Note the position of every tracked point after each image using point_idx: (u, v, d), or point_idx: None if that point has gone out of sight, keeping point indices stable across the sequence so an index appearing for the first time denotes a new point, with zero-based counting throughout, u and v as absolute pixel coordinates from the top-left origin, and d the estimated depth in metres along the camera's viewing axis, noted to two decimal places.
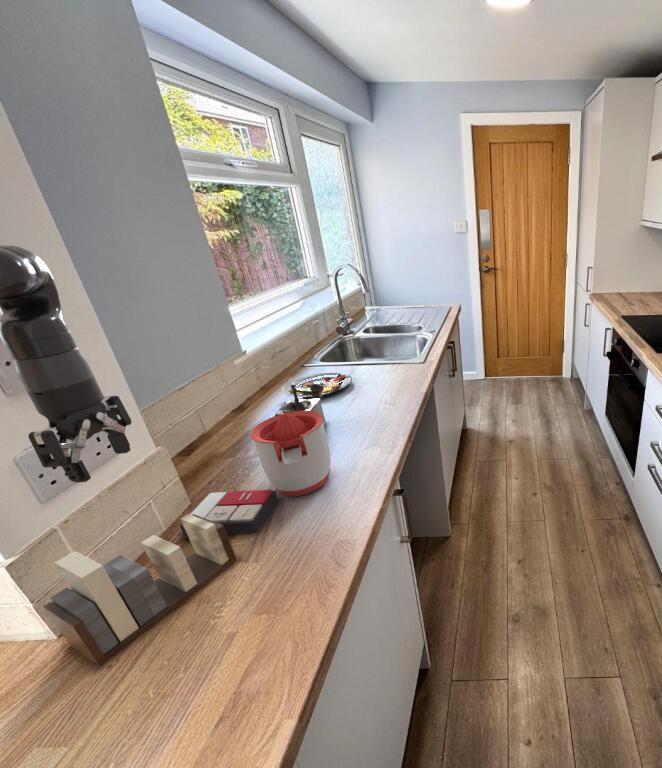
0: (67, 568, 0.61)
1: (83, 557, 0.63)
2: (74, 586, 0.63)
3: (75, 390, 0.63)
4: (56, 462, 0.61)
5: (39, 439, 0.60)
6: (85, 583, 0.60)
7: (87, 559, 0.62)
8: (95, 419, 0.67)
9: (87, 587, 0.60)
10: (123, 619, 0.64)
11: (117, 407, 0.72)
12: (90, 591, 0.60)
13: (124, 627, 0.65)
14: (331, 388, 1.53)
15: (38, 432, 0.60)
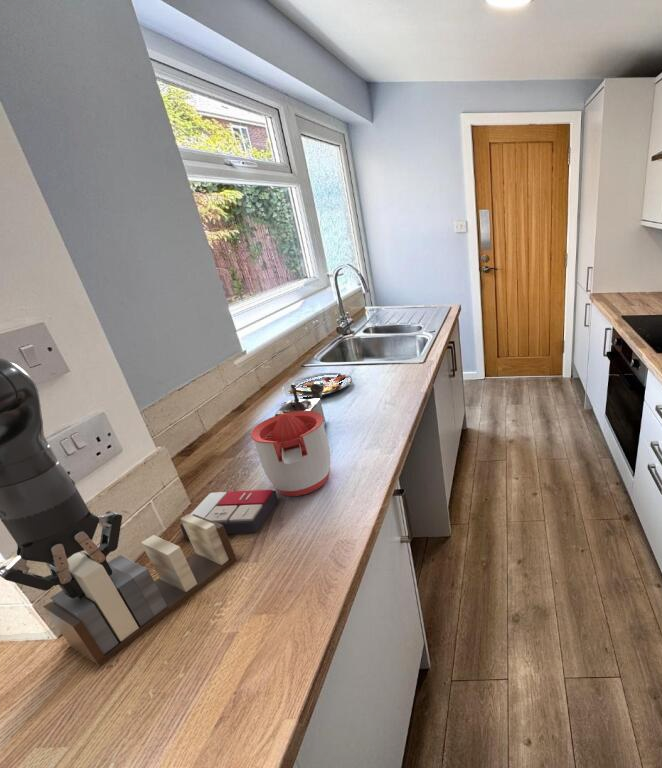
0: None
1: (83, 557, 0.63)
2: None
3: (36, 520, 0.55)
4: (40, 588, 0.57)
5: None
6: (86, 583, 0.60)
7: (87, 559, 0.62)
8: None
9: (87, 587, 0.60)
10: (123, 618, 0.64)
11: (111, 527, 0.64)
12: (90, 591, 0.60)
13: (124, 627, 0.65)
14: (331, 388, 1.53)
15: (0, 573, 0.54)
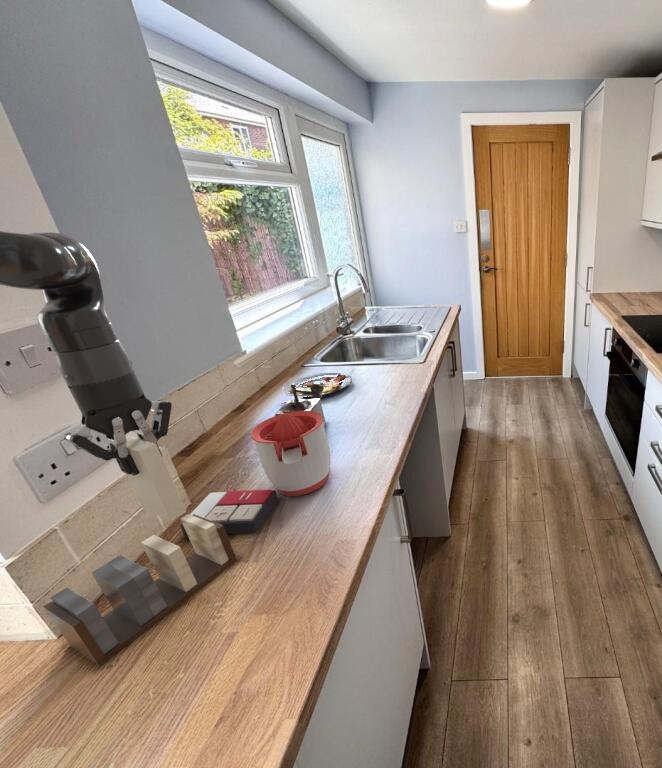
0: None
1: (137, 439, 0.67)
2: None
3: (100, 388, 0.59)
4: None
5: (73, 443, 0.59)
6: (142, 457, 0.64)
7: (141, 440, 0.67)
8: (132, 417, 0.64)
9: (143, 461, 0.64)
10: (173, 499, 0.69)
11: (162, 413, 0.68)
12: (146, 466, 0.65)
13: (174, 508, 0.69)
14: (331, 388, 1.53)
15: (68, 437, 0.59)
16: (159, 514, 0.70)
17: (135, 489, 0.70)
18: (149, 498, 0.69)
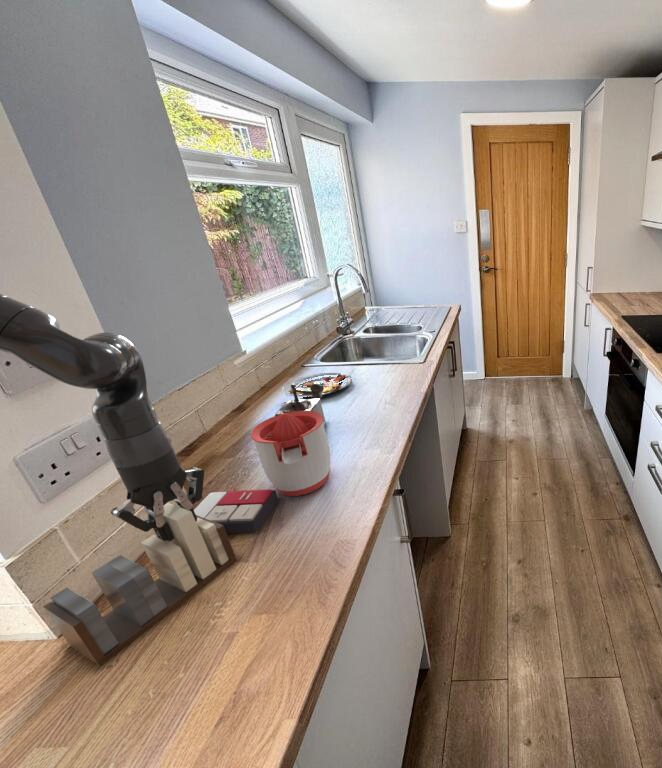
0: None
1: (173, 505, 0.73)
2: None
3: (145, 469, 0.65)
4: (141, 529, 0.68)
5: (118, 517, 0.65)
6: (179, 525, 0.70)
7: (177, 507, 0.73)
8: (170, 489, 0.71)
9: (180, 529, 0.71)
10: (205, 559, 0.75)
11: (196, 480, 0.75)
12: (182, 532, 0.71)
13: (206, 567, 0.75)
14: (331, 388, 1.53)
15: (115, 512, 0.65)
16: (192, 572, 0.76)
17: None
18: None
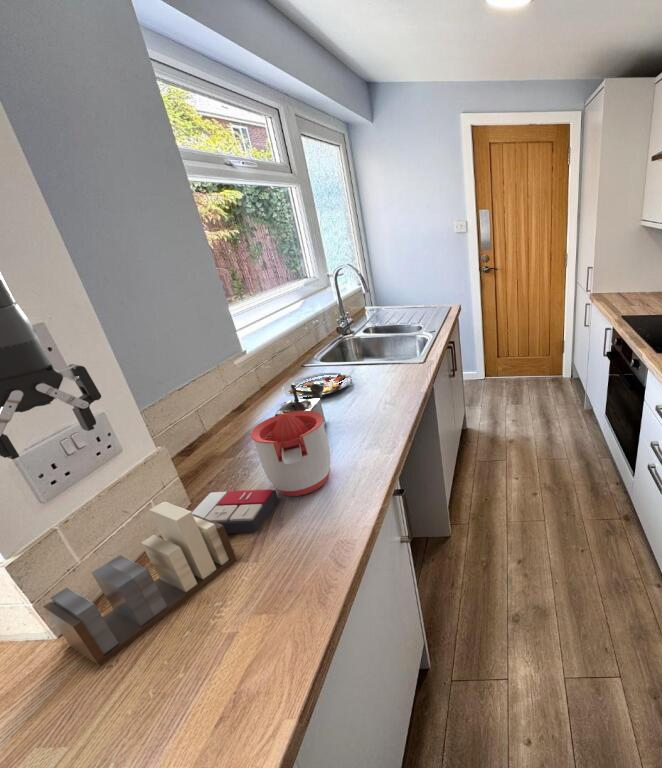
0: (162, 513, 0.71)
1: (173, 505, 0.73)
2: (165, 530, 0.73)
3: None
4: None
5: None
6: (179, 525, 0.70)
7: (177, 507, 0.73)
8: (37, 390, 0.58)
9: (180, 529, 0.71)
10: (205, 559, 0.75)
11: (80, 379, 0.63)
12: (182, 532, 0.71)
13: (206, 567, 0.75)
14: (331, 388, 1.53)
15: None
16: (192, 572, 0.76)
17: None
18: None
